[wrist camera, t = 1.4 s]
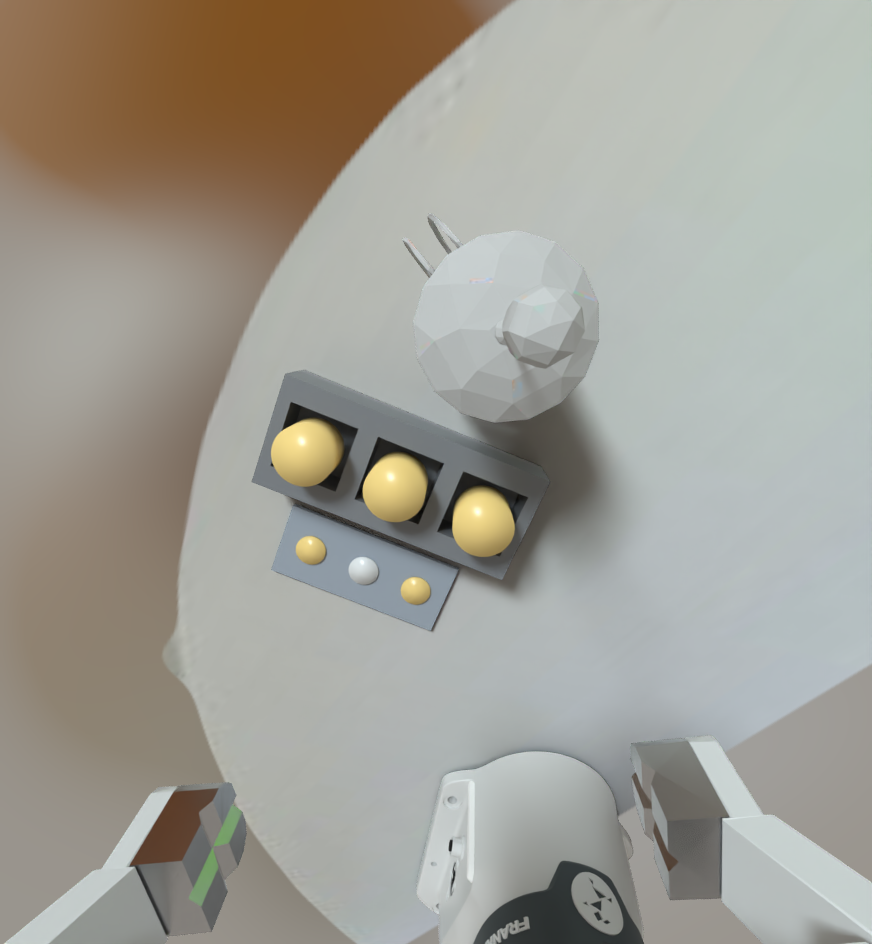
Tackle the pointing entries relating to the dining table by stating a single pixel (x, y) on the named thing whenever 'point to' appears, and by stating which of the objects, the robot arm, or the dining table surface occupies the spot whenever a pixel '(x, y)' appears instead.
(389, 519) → the middle button
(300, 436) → the left button
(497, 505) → the right button
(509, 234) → the french press
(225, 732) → the dining table surface
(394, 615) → the button board
